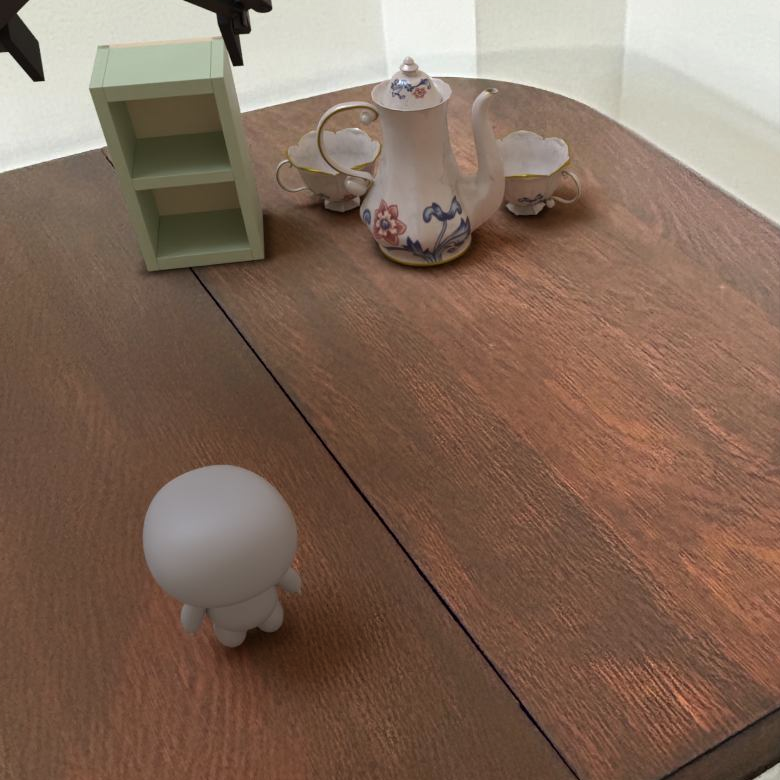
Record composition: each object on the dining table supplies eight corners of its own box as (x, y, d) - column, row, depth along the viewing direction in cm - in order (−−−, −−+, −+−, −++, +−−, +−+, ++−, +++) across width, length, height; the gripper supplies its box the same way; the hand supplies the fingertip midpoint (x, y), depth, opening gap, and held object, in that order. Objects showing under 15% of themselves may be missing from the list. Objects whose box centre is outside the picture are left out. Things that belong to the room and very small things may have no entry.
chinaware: (573, 192, 101) (576, 9, 90) (588, 270, 89) (594, 69, 78) (289, 199, 100) (257, 15, 89) (263, 279, 88) (223, 77, 77)
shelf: (97, 45, 83) (88, 87, 77) (224, 35, 84) (223, 76, 79) (152, 224, 94) (148, 271, 89) (262, 213, 96) (264, 259, 90)
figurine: (294, 568, 66) (256, 428, 57) (337, 651, 61) (304, 513, 53) (171, 616, 63) (111, 476, 54) (206, 706, 59) (148, 570, 50)
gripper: (274, -218, 53) (308, -12, 74) (-253, -197, 49) (-60, 13, 70) (295, -69, 53) (323, 93, 74) (-225, -38, 50) (-41, 123, 71)
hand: (137, 54), depth 72 cm, fingers open, 13 cm apart
